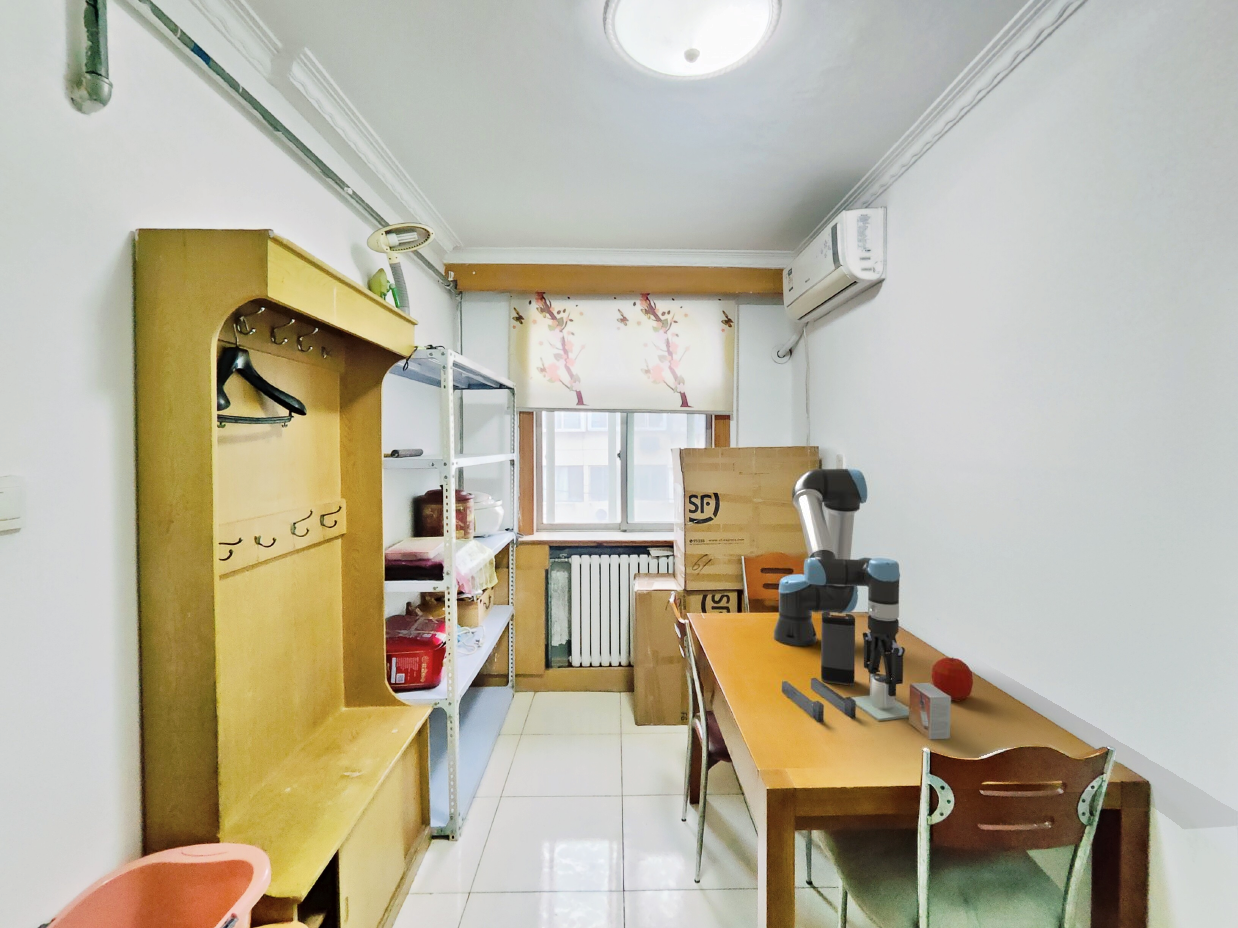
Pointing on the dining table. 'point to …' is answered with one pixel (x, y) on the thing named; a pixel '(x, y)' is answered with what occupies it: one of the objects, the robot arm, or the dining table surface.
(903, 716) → the pad
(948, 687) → the apple
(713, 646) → the dining table surface
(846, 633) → the electronic device
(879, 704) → the white cylindrical piece
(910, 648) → the dining table surface
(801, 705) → the channel
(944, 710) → the small box
